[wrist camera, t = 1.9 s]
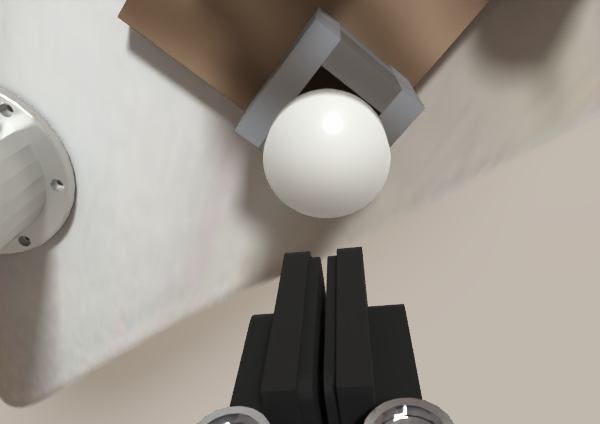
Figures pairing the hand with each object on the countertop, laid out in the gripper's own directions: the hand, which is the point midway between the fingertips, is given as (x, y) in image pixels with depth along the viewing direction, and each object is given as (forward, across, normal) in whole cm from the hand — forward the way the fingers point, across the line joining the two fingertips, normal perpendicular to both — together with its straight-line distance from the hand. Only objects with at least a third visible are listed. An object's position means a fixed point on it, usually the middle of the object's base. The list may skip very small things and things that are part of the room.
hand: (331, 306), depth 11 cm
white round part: (+15, 0, 0) cm, 15 cm away
